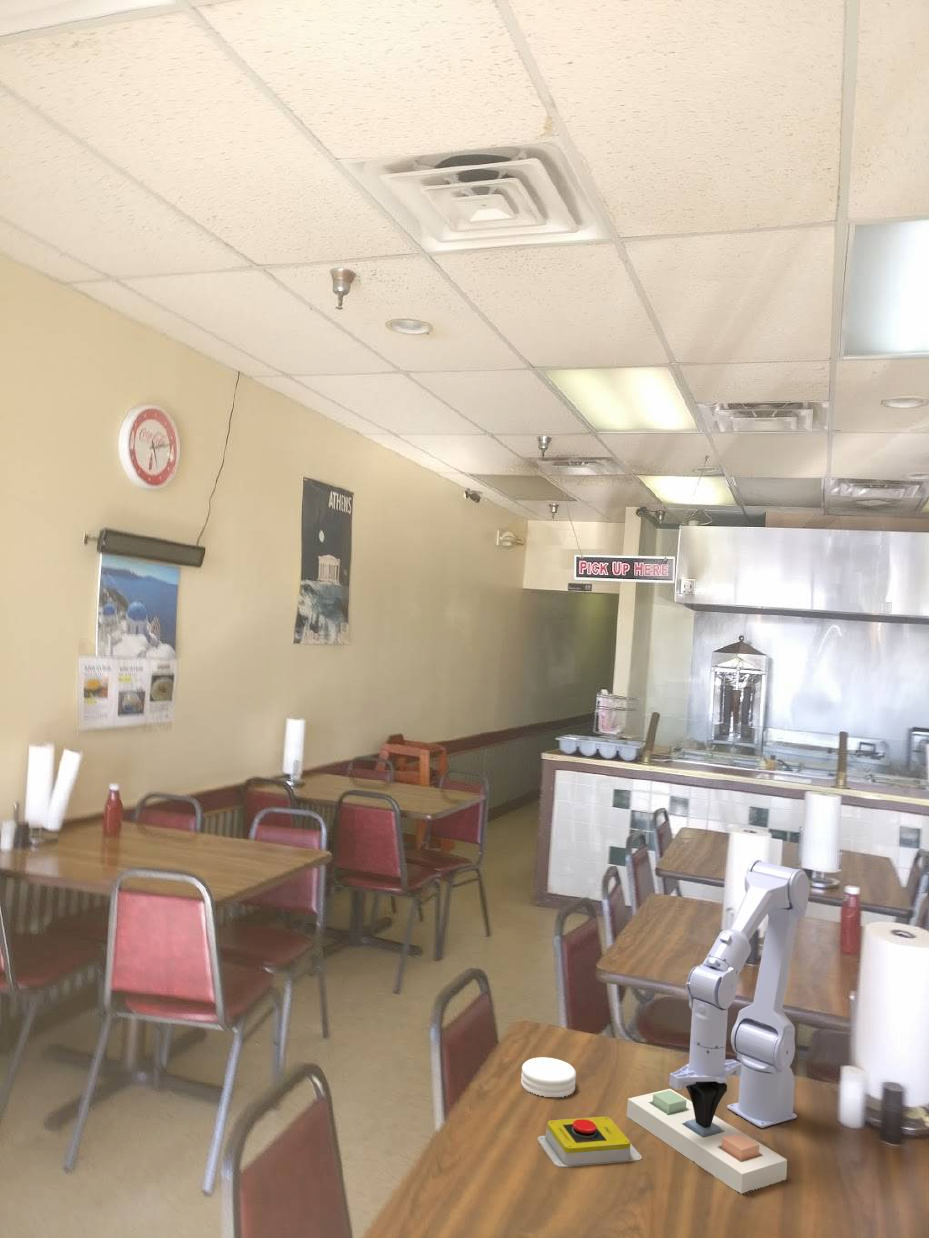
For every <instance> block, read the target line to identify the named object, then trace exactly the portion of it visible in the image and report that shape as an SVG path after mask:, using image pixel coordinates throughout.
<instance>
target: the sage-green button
mask: <svg viewBox="0 0 929 1238" xmlns="http://www.w3.org/2000/svg"><path fill="white" fill-rule="evenodd" d="M652 1105H653V1106H655V1107H656V1108H658V1109H659V1110H661V1111H662V1112H664V1113H666V1114H667V1115H672V1114H676V1113H680V1112H684V1111H686V1100H685V1099H684V1098H682V1097H680V1096H679V1095H677V1094H675V1093H674V1092H672V1091H671V1090H669V1091H665V1092H661V1093H656V1094H653V1103H652Z"/></svg>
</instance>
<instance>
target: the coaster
mask: <svg viewBox="0 0 929 1238" xmlns="http://www.w3.org/2000/svg"><path fill="white" fill-rule="evenodd" d="M520 1075H521V1079H520V1083H521V1086H522V1088H523V1089H524V1090H525V1091H527V1092H528V1093H530V1092H531V1093H530V1094H532V1093H533V1094H532V1095H534V1094H536V1095H535V1096H537V1095H539V1096H538V1097H541V1096H544V1097H543V1098H546V1097H562V1098H565V1097H564V1096H566V1097H569V1096H571V1095H572V1094H573V1093H574V1091H575V1090H576V1080H577V1079H576V1076H577V1072H576V1069H575V1068H574V1067H573V1066H572V1065H571V1064H570V1063H568V1062H567V1061H564V1060H561V1059H557V1058H554V1057H546V1056H545V1057H543V1056H541V1057H534V1058H530V1059H528V1060H526V1061H525V1062H523V1064H522V1066H521V1074H520ZM570 1094H571V1095H570ZM568 1095H569V1096H568Z"/></svg>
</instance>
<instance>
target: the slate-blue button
mask: <svg viewBox="0 0 929 1238" xmlns="http://www.w3.org/2000/svg"><path fill="white" fill-rule="evenodd" d="M685 1126H686V1127H687V1128H689V1129H690V1130H692V1131H693V1132H695V1133H697V1134H698V1135H700V1136H701V1137H703V1138H704V1137H708V1136H712V1135H715V1134H719V1133H721V1127H719V1126H717V1125H716V1124H714V1123H711V1126H710V1127H708V1128H703V1127H702V1126H700V1125H699V1124H697V1123H696V1119H693V1120H689V1121H686V1125H685Z"/></svg>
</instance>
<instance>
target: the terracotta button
mask: <svg viewBox="0 0 929 1238" xmlns="http://www.w3.org/2000/svg"><path fill="white" fill-rule="evenodd" d="M722 1150H723V1151H724V1152H726V1153H728V1154H729V1155H731V1156H732V1157H734V1158H735V1159H737V1160H738V1161H740V1162H744V1161H747V1160H750V1159H754V1158H757V1157H759V1144H757V1143H756V1142H754V1141H752V1140H751V1139H749V1138H747V1137H746V1136H744V1135H742V1134H741V1133H738V1134H734V1135H731V1136H727V1137H724V1138H722Z"/></svg>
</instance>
